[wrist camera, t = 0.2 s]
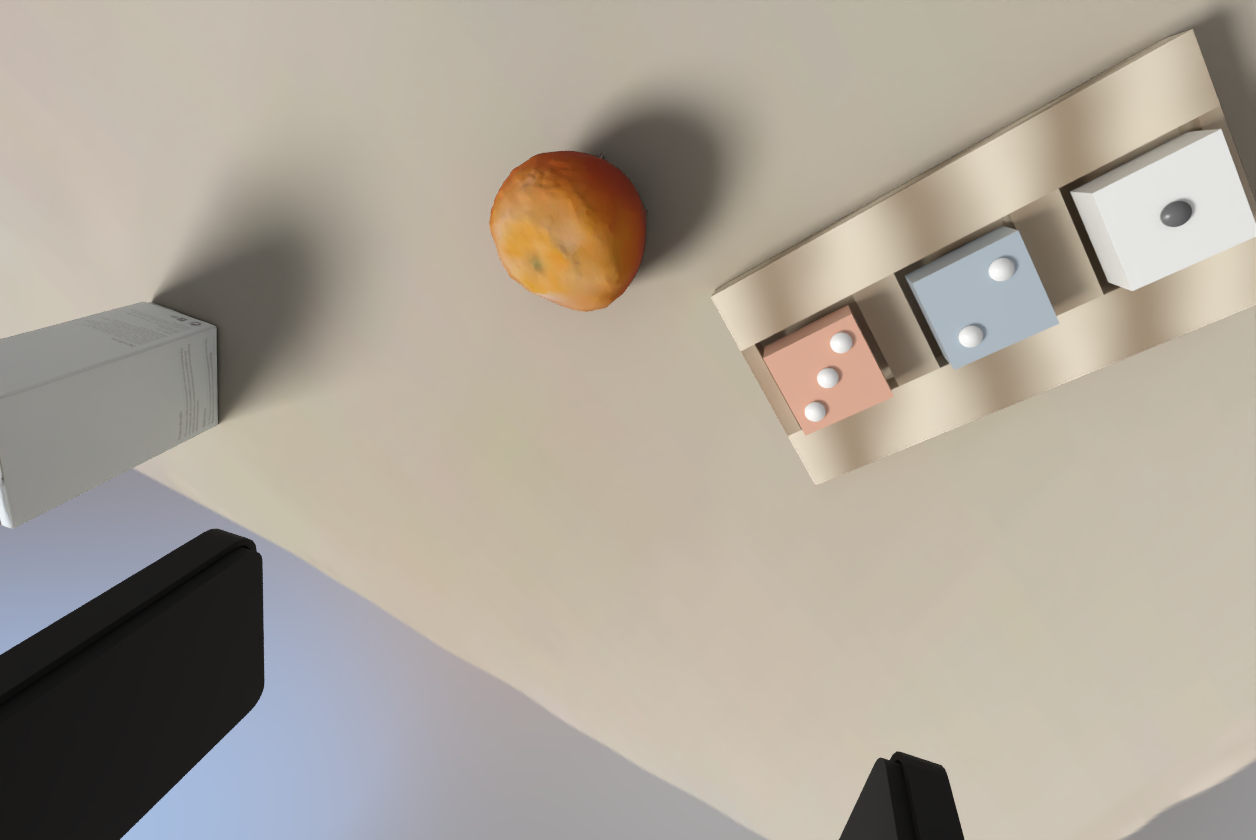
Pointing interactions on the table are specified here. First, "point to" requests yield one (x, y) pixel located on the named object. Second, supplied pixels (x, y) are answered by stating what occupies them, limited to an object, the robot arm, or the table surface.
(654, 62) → the table surface
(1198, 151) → the key
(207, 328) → the skincare box
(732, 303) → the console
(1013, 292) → the key
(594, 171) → the fruit
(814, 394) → the key
